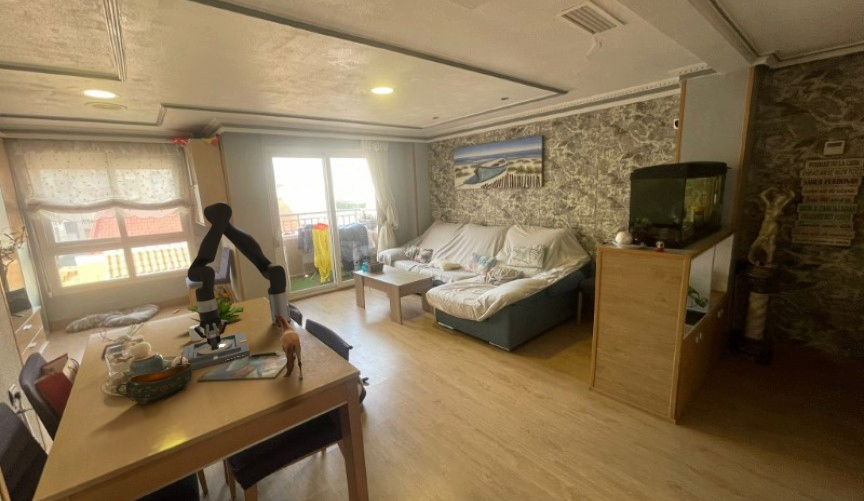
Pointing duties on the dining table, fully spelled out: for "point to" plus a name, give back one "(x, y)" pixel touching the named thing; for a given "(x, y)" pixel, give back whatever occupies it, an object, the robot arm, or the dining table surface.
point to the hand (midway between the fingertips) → (214, 343)
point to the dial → (214, 345)
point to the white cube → (193, 333)
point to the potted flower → (222, 309)
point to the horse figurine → (289, 344)
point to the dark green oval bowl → (157, 385)
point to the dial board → (201, 361)
